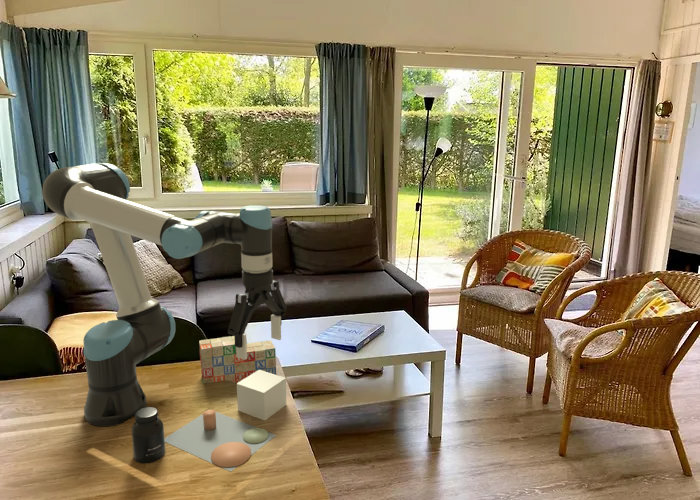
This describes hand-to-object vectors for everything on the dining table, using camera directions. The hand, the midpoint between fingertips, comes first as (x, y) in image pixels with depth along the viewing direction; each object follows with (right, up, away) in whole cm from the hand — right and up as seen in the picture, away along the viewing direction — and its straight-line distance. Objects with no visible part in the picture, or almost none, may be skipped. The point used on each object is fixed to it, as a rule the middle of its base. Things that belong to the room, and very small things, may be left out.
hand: (259, 348), depth 141 cm
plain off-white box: (0, -18, +5) cm, 18 cm away
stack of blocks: (-10, -13, +23) cm, 28 cm away
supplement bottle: (-23, -23, -15) cm, 35 cm away
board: (-8, -21, -9) cm, 24 cm away
